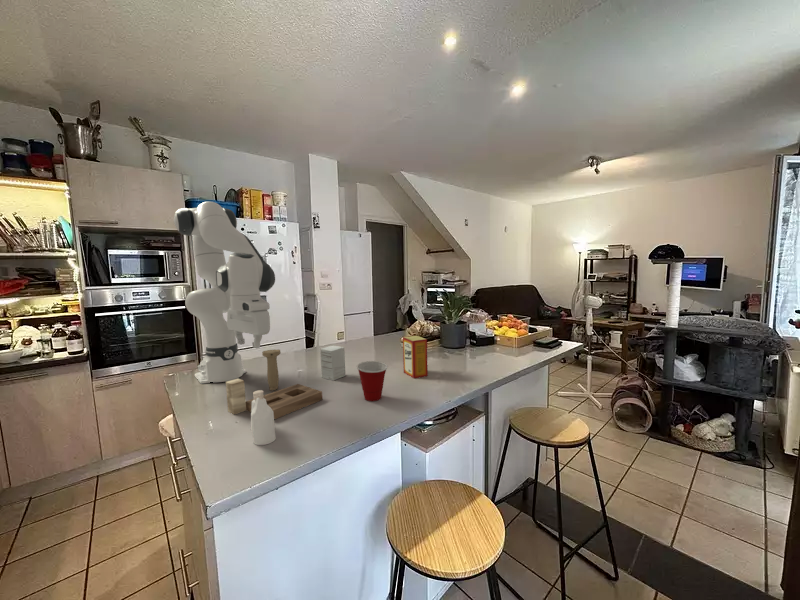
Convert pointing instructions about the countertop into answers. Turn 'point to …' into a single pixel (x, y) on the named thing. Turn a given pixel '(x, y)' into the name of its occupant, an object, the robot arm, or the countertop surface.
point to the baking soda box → (415, 356)
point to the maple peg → (236, 396)
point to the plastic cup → (372, 379)
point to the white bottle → (256, 395)
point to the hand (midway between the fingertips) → (248, 345)
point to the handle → (272, 368)
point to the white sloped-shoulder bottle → (262, 423)
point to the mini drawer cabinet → (332, 362)
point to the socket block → (289, 399)
